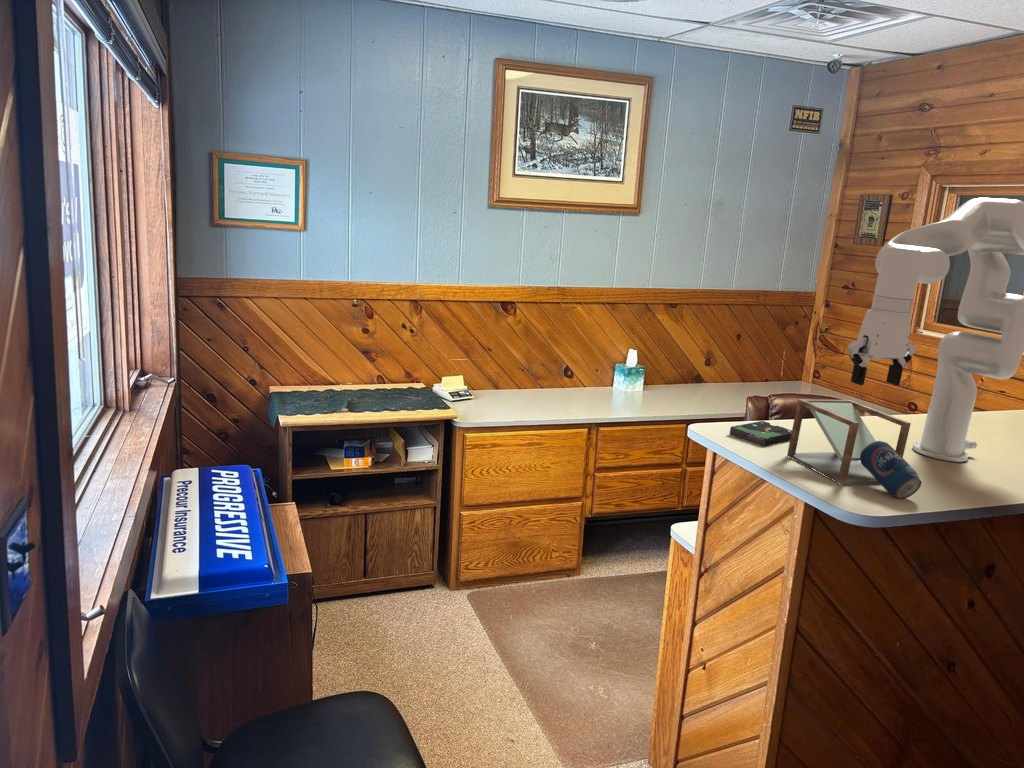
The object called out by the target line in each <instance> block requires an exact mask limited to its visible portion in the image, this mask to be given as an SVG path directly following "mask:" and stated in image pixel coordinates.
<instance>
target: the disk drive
mask: <svg viewBox="0 0 1024 768" xmlns="http://www.w3.org/2000/svg"><path fill="white" fill-rule="evenodd" d="M791 433H792V429H789V428H786V427H783V426H780V425H772V424H771V423H770V422H767V421H764V420H759V421H755V422H749V423H744V424H743V423H742V424H739V425H735V426H734V425H733V426H730V429H729V436H730V437H733V438H737V439H740V440H743V441H745V442H748V443H751V444H754V445H757V446H759V447H760V446H761V447H763V448H764V447H765V448H766V447H770V445H771V446H774V445H773V444H775V445H778V443H779V444H783V443H788V442H790V438H791ZM787 441H788V442H787Z"/></svg>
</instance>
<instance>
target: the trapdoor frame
mask: <svg viewBox="0 0 1024 768" xmlns="http://www.w3.org/2000/svg"><path fill="white" fill-rule="evenodd" d="M810 402H819V403H852V405H853V406H854V408H855V409H856V410H857V409H858V410H861V411H863V412H864V413H865V412H866V413H868V414H870V415H873V416H875V417H878V418H880V419H883V420H885V421H887V422H888V421H889V422H891V423H894V424H896V425H897V426H898V425H899V426H900V430H899V434H898V439H897V442H896V448H895V449H894V450H895V451H896V452H897V453H898V454H899V455H900V456H901V457H902V458H903V457H904V454H905V450H906V445H907V440H908V437H909V433H910V428H911V424H912V423H911V422H910V421H906V420H905V419H904V420H903V419H901V418H899V417H896V416H894V415H891V414H889V413H886V412H884V411H881V410H878V409H876V408H872V407H870V406H867V405H865V404H862V403H860V402H856V401H854V400H851V399H811V398H807V399H806V398H803V399H802V398H799V399H797V403H796V409H795V412H794V413H795V414H794V418H793V425H792V429H791V430H792V433H791V438H790V441H789V444H788V449H787V450H788V451H787V455H786V457H788V456H789V457H788V458H790V457H791V458H790V459H792V458H793V459H795V460H796V462H797V461H798V462H797V463H799V462H800V463H799V464H801V463H802V464H801V465H803V464H804V465H803V466H805V465H806V466H808V467H810V468H813V469H815V470H816V471H818V472H820V473H822V474H824V475H825V476H827V477H829V478H831V479H833V480H835V481H836V482H838V483H840V484H856V485H860V484H862V485H881V484H880V483H879V482H878V481H877V480H876V479H875V478H874V477H873V476H872V474H871V473H870V472H869V471H868V470H867V469H866V468H865V467H864V466H863V465H862V464H861V461H851V458H852V454H853V449H854V444H855V440H856V435H857V431H858V426H859V423H858V422H856V421H854V420H851V419H849V418H846V417H844V416H842V415H839V414H837V413H834V412H832V411H830V410H827V409H825V408H822V407H820V406H818V405H815V404H813V403H810ZM805 408H807V409H809V408H810V409H812V410H814V411H817V412H819V413H821V414H824V415H826V416H828V417H831V418H833V419H835V420H838V421H840V422H842V423H845V424H847V425H849V431H848V435H847V440H846V445H845V449H844V454H843V459H842V461H840V459H839V458H838V456H837V454H836V453H835V451H833V452H832V451H831V452H830V451H829V452H797V447H798V441H799V437H800V432H801V427H802V422H803V416H804V413H805ZM810 409H809V410H810ZM793 459H792V460H793ZM903 459H904V458H903ZM795 460H794V461H795ZM806 466H805V467H806ZM808 467H807V468H808ZM810 468H809V469H810ZM816 471H815V472H816ZM818 472H817V473H818ZM820 473H819V474H820ZM825 476H824V477H825ZM827 477H826V478H827ZM829 478H828V479H829ZM831 479H830V480H831ZM833 480H832V481H833ZM836 482H835V483H836ZM838 483H837V484H838ZM840 484H839V485H840Z"/></svg>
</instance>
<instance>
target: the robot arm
mask: <svg viewBox="0 0 1024 768" xmlns="http://www.w3.org/2000/svg"><path fill="white" fill-rule="evenodd" d="M966 252H968V256H969V261H970V270H969V275H968V278H967V281H966V283H965V287H964V289H963V294H962V297H961V299H960V302H959V307H958V311H957V320H958V322H959V324H962V325H963V326H966V327H969V328H974V329H978V330H983V331H984V330H985V331H988V332H989V331H990V332H993V333H994V332H995V333H1000V334H1001V338H998V337H994V336H987V335H985V334H978V333H972V332H968V331H952V332H949V333H947V334H945V335H944V336H943V337H942V339H941V340H940V343H939V345H938V352H937V370H936V375H935V376H936V377H935V381H934V385H933V390H932V393H931V397H930V403H929V406H928V410H927V415H926V418H925V423H924V427H923V432H922V435H921V440H920V441H916V442H914V443H913V444H912V449H913V450H914V451H915V452H917V454H921V455H924V456H926V457H930V458H932V459H937V460H941V461H947V462H956V463H961V462H962V463H964V462H967V461H969V454H968V453H967V452H966V450H967V449H968V450H970V449H972V450H973V449H976V448H977V446H978V444H977V442H976V441H974V440H973V441H972V440H967V435H968V432H969V427H970V424H971V419H972V415H973V411H974V407H975V403H976V400H977V395H978V387H977V386H978V385H977V384H976V381H975V379H974V377H973V375H974V374H975V375H978V376H983V377H988V378H993V379H997V380H1008V379H1010V378H1012V377H1013V376H1014V375H1015V374H1016V372H1017V370H1018V368H1019V367H1020V364H1021V361H1022V357H1023V354H1024V295H1021V294H1017V293H1016V294H1015V293H1010V292H1009V293H1008V292H1007V287H1008V284H1009V281H1010V278H1011V272H1012V271H1011V268H1010V265H1009V262H1008V261H1007V259H1006V257H1005V256H1004V254H1011V255H1012V254H1013V255H1019V256H1024V201H1022V200H1019V199H1011V198H1010V199H1009V198H993V197H992V198H991V197H978V198H972V199H969V200H967V201H966V202H964V203H963V204H962V205H960V206H959V207H958V208H956V209H955V210H953V211H952V212H951V213H950V214H948V215H947V216H946V217H945V218H943V219H942V220H941V221H937V222H933V223H928V224H925V225H922V226H919V227H914V228H911V229H909V230H905V231H903V232H900V233H898V234H897V235H895V236H893V238H891V239H890V240H889V241H887V242H886V243H885V244H884V245H883V246H882V247H881V249H880V250H879V251H878V252H877V255H876V258H875V270H876V271H877V273H878V274H877V279H876V283H875V288H874V293H873V298H872V303H871V308H870V309H867V311H866V313H865V315H864V317H863V320H862V322H861V326H860V329H859V332H858V336H857V339H856V340H854V341H853V342H851V343H849V344H848V346H847V350H848V353H849V358H850V360H851V363H852V365H853V368H852V372H851V379H850V382H851V383H852V384H853V383H854V384H856V385H858V386H864V385H865V380H866V375H867V371H868V367H866V365H868V364H869V362H870V361H871V359H876V360H890V361H891V363H892V364H889V367H888V372H887V375H886V380H885V381H886V383H888V384H891V385H894V386H900V385H901V384H900V383H901V379H902V375H903V370H904V368H906V367H907V365H908V363H909V362H910V361H911V359H912V357H913V355H914V354H915V352H916V350H917V347H916V346H915V345H914V344H912V343H911V342H910V335H911V325H912V314H911V311H912V308H913V307H914V305H915V303H914V298H915V293H916V290H917V289H916V288H917V284H918V283H919V284H927V285H930V284H937V283H939V282H940V281H942V280H944V279H945V277H946V276H947V274H948V273H949V270H950V267H951V261H950V257H951V256H957V255H960V254H963V253H966ZM963 461H964V462H963Z"/></svg>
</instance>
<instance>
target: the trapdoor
mask: <svg viewBox="0 0 1024 768" xmlns="http://www.w3.org/2000/svg"><path fill="white" fill-rule="evenodd" d="M810 403H813V404H815V405H818V406H820V407H822V408H825V409H827V410H830V411H832V412H834V413H837V414H839V415H842V416H844V417H846V418H849V419H851V420H854V421H856V422H858V423H859V426H858V431H857V435H856V440H855V444H854V449H853V454H852V458H851V461H859V462H861V460H860V453H861V451H862V450H863V449H864V448H865V447H866V446H867V445H868V444H870V443H872V442H874V441H877V440H876V439H875V437H874V435H873V434H872V433H871V431H870V430H869V428H868V426H867V425H866V424H865V422H864V421H863V419H862V417H861V415H860V414H859V412H858V411H857V408H855V407H854V406H853V405H852V403H819V402H810ZM808 409H809V411H810V412H811V414H812V415H813V417H814V419H815V421H816V422H817V423H818V425H819V427H820V429H821V431H822V432H823V434H824V436H825V437H826V440H827V441H828V442H829V443H828V444H830V447H832V449H833V452H835V453H836V454H837V456H838V458H839V459H840V461H842V459H843V454H844V449H845V445H846V440H847V435H848V431H849V425H847V424H845V423H842V422H840V421H838V420H835V419H833V418H831V417H828V416H826V415H824V414H821V413H819V412H817V411H814V410H812V409H810V408H808Z"/></svg>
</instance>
